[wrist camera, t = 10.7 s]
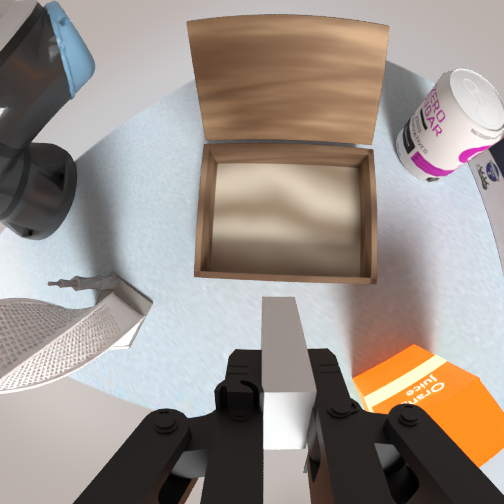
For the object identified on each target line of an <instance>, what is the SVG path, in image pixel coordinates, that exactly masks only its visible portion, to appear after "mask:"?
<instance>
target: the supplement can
mask: <svg viewBox="0 0 504 504" xmlns="http://www.w3.org/2000/svg"><path fill="white" fill-rule="evenodd" d="M503 132H504V103H503V101H502V99H501V97H500V95H499V94H498V92H497V91H496V89H495V88H494V87H493V86H492V85H491V84H490V82H489V81H487V80H486V79H485V78H484V77H483V76H481V75H480V74H478V73H476V72H474V71H472V70H470V69H465V68H459V69H455V70H454V71H450V72H447V73H444V74H443V75H442V76H441V78H440V79H439V80H438V82H437V83H436V84H435V86H434V87H433V88H432V90H431V91H430V92H429V94H428V95H427V97H426V98H425V99H424V101H423V102H422V103H421V105H420V106H419V107H418V109H417V110H416V111H415V113H414V114H413V115H412V117H411V118H410V119H409V121H408V122H407V123H406V124H405V126H404V127H403V128H402V130H401V131H400V132H399V134H398V137H397V141H396V147H397V154H398V156H399V158H400V160H401V163H402V164H403V166H404V167H405V168H406V169H407V170H408V172H409V173H410V174H412V175H413V176H415V177H416V178H417V179H419V180H423V181H426V182H437V181H439V180H440V179H442V178H444V177H445V176H447V175H449V174H450V173H452V172H453V171H455V170H456V169H458V168H459V167H461V166H462V165H464V164H465V163H467V162H468V161H470V160H471V159H473V158H474V157H476V156H477V155H479V154H480V153H482V152H483V151H485V150H486V149H488V148H489V147H491V146H492V145H494V144H495V143H497V142H498V141H499V140H500V139H501V136H502V134H503Z"/></svg>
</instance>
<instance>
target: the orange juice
mask: <svg viewBox="0 0 504 504" xmlns="http://www.w3.org/2000/svg"><path fill="white" fill-rule="evenodd" d="M352 379H353V382H354V384H355V386H356V389H357V391H358V393H359V396H360V398H361V400H362V403H363V405H364V408H365V410H366V411H368V412H373V413H383V414H388V413H389V411H390V410H391V408H392V407H394V406H396V405H398V404H403V403H409V404H414V405H417V406H420V407H421V408H422V409H424V410H425V411H426V412H427V413H428V414H429V415H430V416H431V417H432V419H433V420H434V421H435V422H436V423H437V424H438V425H439V426H440V427H441V428H442V429H443V430H444V431H445V432H446V433H447V434H448V436H449V437H450V438H451V439H452V440H453V441H454V442H455V443H456V444H457V445H458V446H459V447H460V448H461V449H462V450H463V452H464V453H465V454H466V455H467V456H468V457H469V458H470V459H471V460H472V461H473V462H474V463H475V464H476V466H477V467H478V468H479V467H480V466H482V465H483V464H484V463H486V462H487V461H488V460H490V459H491V458H492V457H493V456H495V455H496V454H497V453H498V452H499V451H501V450H502V449H503V448H504V412H503V411H502V409H501V408H500V407H499V405H498V404H497V402H496V401H495V400H494V398H493V397H492V396H491V394H490V393H489V392H488V390H487V389H486V388H485V386H484V385H483V384H482V382H481V381H480V378H479V377H477V376H475V375H473V374H471V373H469V372H467V371H465V370H463V369H461V368H459V367H457V366H455V365H453V364H451V363H449V362H448V361H447V360H445V359H443V358H441V357H439V356H437V355H434V354H432V353H430V352H428V351H426V350H424V349H422V348H420V347H419V346H417V345H415V344H413V345H411V346H410V347H408V348H407V349H405V350H403V351H402V352H400V353H398V354H397V355H395V356H393V357H391V358H390V359H388V360H386V361H384V362H383V363H381V364H379V365H377V366H375V367H373V368H372V369H370V370H368V371H366V372H364V373H362V374H360V375H358V376H356V377H354V378H352Z"/></svg>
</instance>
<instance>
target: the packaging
mask: <svg viewBox="0 0 504 504" xmlns="http://www.w3.org/2000/svg"><path fill="white" fill-rule="evenodd" d="M468 163H469V166H470V168H471V171H472V173H473V175H474V178H475V180H476V183H477V186H478V188H479V191H480V193H481V196H482V199H483V202H484V205H485V208H486V211H487V214H488V217H489V220H490V223H491V226H492V230H493V233H494V237H495V240H496V244H497V248H498V252H499V256H500V260H501V264H502V269H503V273H504V132H503V134H502V136H501V139H500V140H499V141H498V142H497V143H495V144H494V145H492V146H491V147H489V148H488V149H486V150H485V151H483V152H482V153H480V154H479V155H477V156H476V157H474V158H473V159H471V160H470V161H468Z"/></svg>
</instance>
